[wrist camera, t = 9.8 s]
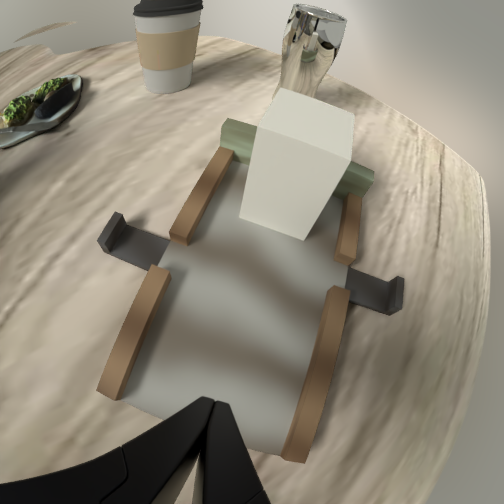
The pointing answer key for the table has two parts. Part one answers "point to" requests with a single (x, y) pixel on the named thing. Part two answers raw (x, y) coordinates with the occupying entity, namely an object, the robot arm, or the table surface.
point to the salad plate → (39, 109)
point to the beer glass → (309, 48)
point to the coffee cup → (167, 42)
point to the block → (296, 162)
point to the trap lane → (242, 306)
